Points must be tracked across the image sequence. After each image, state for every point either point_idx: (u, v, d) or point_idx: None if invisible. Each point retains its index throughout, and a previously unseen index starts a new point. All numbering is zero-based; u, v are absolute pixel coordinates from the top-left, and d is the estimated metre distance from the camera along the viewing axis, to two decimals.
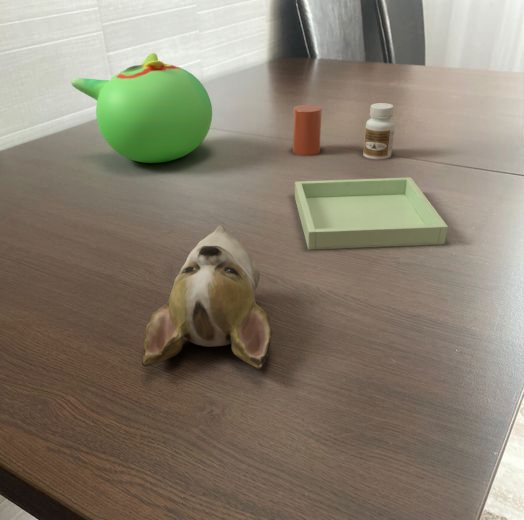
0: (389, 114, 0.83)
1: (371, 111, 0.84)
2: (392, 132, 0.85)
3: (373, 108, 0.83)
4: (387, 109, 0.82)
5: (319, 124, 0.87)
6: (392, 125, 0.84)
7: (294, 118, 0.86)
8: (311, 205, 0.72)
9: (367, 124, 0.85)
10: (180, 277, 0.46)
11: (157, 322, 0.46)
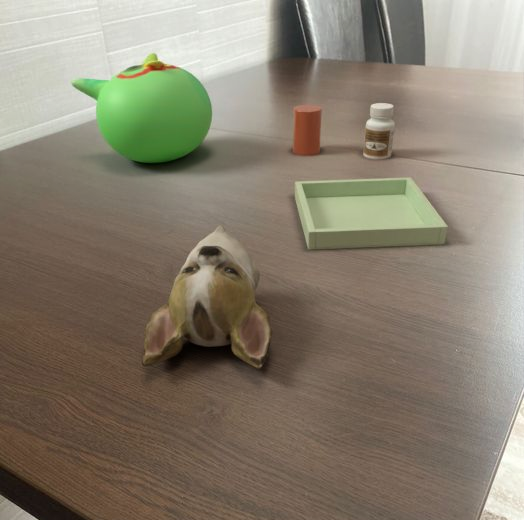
0: (389, 114, 0.83)
1: (371, 111, 0.84)
2: (392, 132, 0.85)
3: (373, 108, 0.83)
4: (387, 109, 0.82)
5: (319, 124, 0.87)
6: (392, 125, 0.84)
7: (294, 118, 0.86)
8: (311, 205, 0.72)
9: (367, 124, 0.85)
10: (180, 277, 0.46)
11: (157, 322, 0.46)
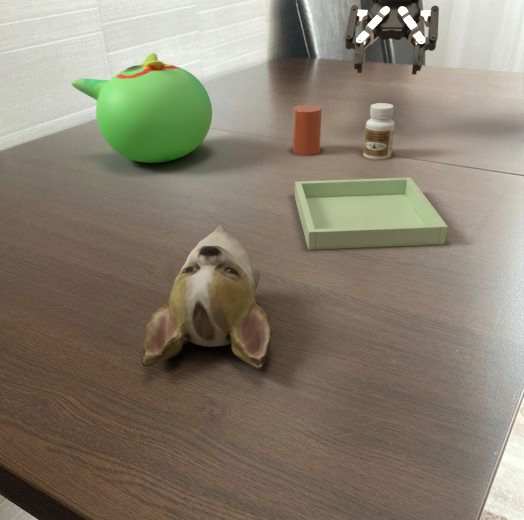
0: (389, 114, 0.83)
1: (371, 111, 0.84)
2: (392, 132, 0.85)
3: (373, 108, 0.83)
4: (387, 109, 0.82)
5: (319, 124, 0.87)
6: (392, 125, 0.84)
7: (294, 118, 0.86)
8: (311, 205, 0.72)
9: (367, 124, 0.85)
10: (180, 277, 0.46)
11: (158, 322, 0.46)
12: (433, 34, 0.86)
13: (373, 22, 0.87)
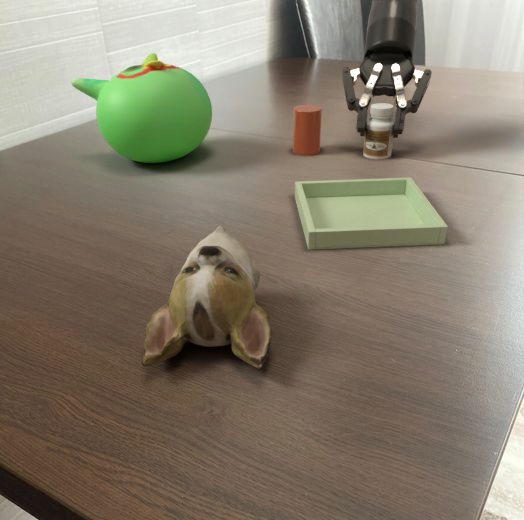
0: (389, 114, 0.83)
1: (371, 111, 0.84)
2: (392, 132, 0.85)
3: (373, 108, 0.83)
4: (387, 109, 0.82)
5: (319, 124, 0.87)
6: (392, 125, 0.84)
7: (294, 118, 0.86)
8: (311, 205, 0.72)
9: (367, 124, 0.85)
10: (180, 277, 0.46)
11: (158, 322, 0.46)
12: (415, 98, 0.83)
13: (370, 82, 0.84)
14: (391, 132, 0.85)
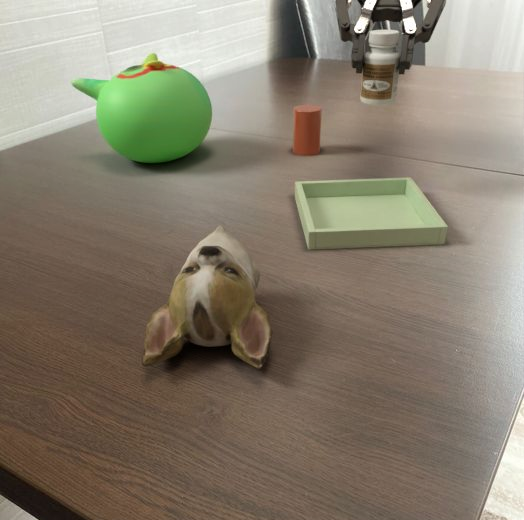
0: (393, 42, 0.64)
1: (370, 39, 0.65)
2: (397, 67, 0.66)
3: (372, 34, 0.64)
4: (390, 35, 0.63)
5: (319, 124, 0.87)
6: (397, 57, 0.65)
7: (294, 118, 0.86)
8: (311, 205, 0.72)
9: (365, 57, 0.66)
10: (180, 277, 0.46)
11: (158, 322, 0.46)
12: (428, 20, 0.64)
13: (369, 1, 0.65)
14: (396, 67, 0.65)
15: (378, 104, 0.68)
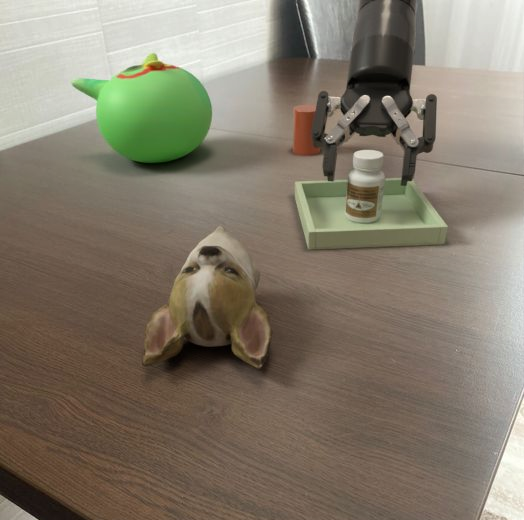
0: (377, 166, 0.64)
1: (354, 161, 0.64)
2: (382, 188, 0.65)
3: (357, 158, 0.64)
4: (374, 160, 0.63)
5: None
6: (381, 179, 0.65)
7: (294, 118, 0.86)
8: (311, 205, 0.72)
9: (349, 177, 0.65)
10: (180, 277, 0.46)
11: (158, 322, 0.46)
12: (429, 134, 0.63)
13: (348, 116, 0.64)
14: (380, 188, 0.65)
15: (363, 222, 0.67)
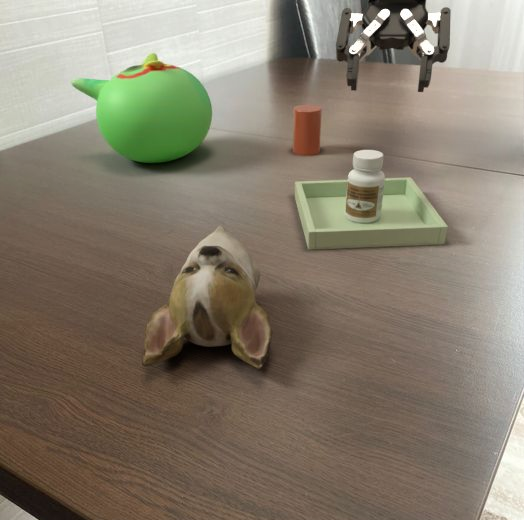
0: (377, 165, 0.64)
1: (354, 161, 0.64)
2: (382, 188, 0.65)
3: (356, 158, 0.64)
4: (374, 160, 0.63)
5: (319, 124, 0.87)
6: (381, 179, 0.65)
7: (294, 118, 0.86)
8: (311, 205, 0.72)
9: (349, 177, 0.65)
10: (180, 277, 0.46)
11: (158, 322, 0.46)
12: (444, 42, 0.69)
13: (370, 28, 0.71)
14: (380, 188, 0.65)
15: (363, 222, 0.67)
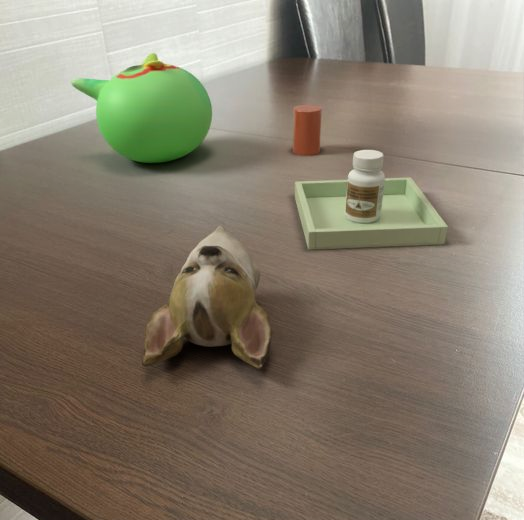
0: (377, 165, 0.64)
1: (354, 161, 0.64)
2: (382, 188, 0.65)
3: (356, 158, 0.64)
4: (374, 160, 0.63)
5: (319, 124, 0.87)
6: (381, 179, 0.65)
7: (294, 118, 0.86)
8: (311, 205, 0.72)
9: (349, 177, 0.65)
10: (180, 277, 0.46)
11: (158, 322, 0.46)
12: None
13: None
14: (380, 188, 0.65)
15: (363, 222, 0.67)
